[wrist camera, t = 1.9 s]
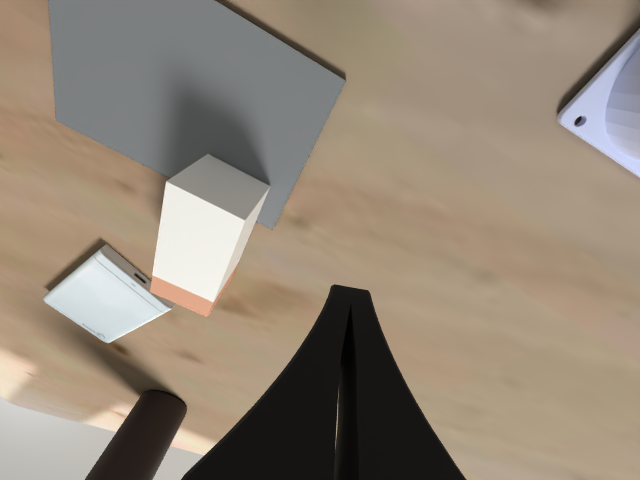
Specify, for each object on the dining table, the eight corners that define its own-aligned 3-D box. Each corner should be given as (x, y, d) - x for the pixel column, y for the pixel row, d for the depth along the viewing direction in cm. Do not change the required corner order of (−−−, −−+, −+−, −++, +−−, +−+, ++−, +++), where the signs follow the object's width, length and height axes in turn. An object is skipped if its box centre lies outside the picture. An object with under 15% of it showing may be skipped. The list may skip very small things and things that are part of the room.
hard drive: (107, 345, 32) (170, 311, 27) (39, 299, 29) (95, 251, 24) (118, 333, 33) (180, 299, 28) (54, 288, 30) (110, 240, 25)
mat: (345, 80, 15) (345, 80, 15) (273, 228, 21) (272, 230, 21) (47, -103, 13) (41, -107, 13) (60, 120, 19) (56, 120, 19)
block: (245, 220, 15) (207, 317, 21) (270, 186, 19) (232, 276, 25) (166, 181, 15) (150, 292, 20) (207, 153, 18) (184, 254, 24)
